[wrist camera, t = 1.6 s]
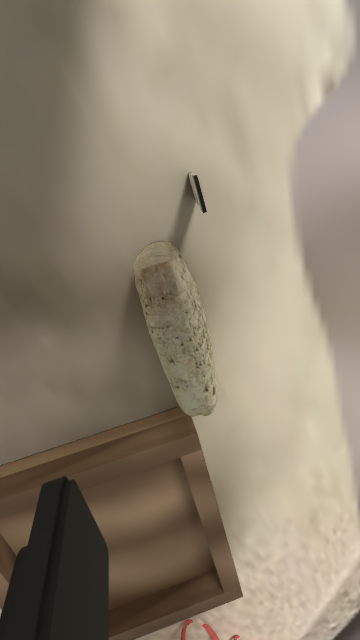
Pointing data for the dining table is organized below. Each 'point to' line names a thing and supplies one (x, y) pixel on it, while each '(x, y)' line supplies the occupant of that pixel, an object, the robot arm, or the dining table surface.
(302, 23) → the dining table surface
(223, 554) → the wooden tray
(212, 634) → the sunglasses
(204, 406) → the cuneiform tablet
